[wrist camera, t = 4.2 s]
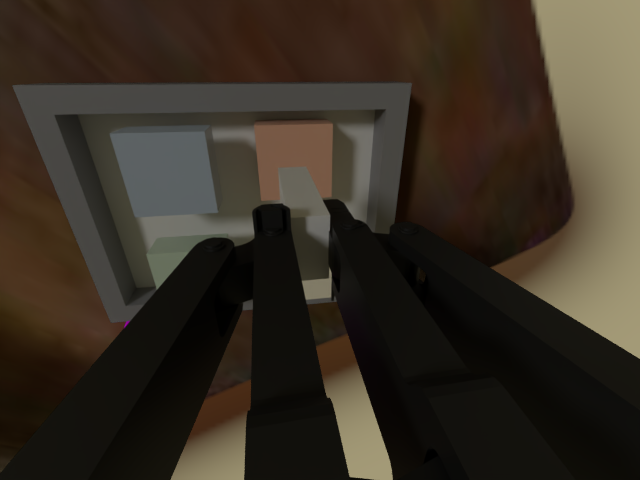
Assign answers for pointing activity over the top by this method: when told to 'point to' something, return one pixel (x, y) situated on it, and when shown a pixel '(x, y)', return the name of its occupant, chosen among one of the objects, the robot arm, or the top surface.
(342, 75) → the top surface
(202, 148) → the key slate
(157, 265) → the key sage
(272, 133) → the key terracotta
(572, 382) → the robot arm
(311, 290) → the key cream
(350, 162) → the grey tray
